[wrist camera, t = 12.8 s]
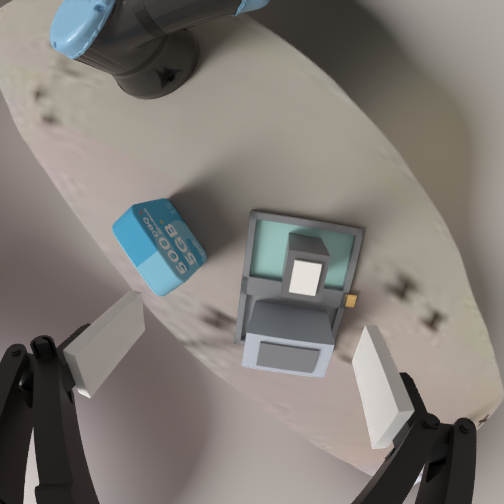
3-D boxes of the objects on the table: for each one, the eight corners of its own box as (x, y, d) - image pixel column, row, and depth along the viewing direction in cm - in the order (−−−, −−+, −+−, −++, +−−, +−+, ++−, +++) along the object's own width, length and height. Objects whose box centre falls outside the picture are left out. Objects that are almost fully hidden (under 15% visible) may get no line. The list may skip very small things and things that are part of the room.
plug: (288, 232, 41) (288, 250, 31) (321, 238, 41) (331, 257, 31) (282, 270, 43) (280, 298, 33) (313, 275, 42) (320, 304, 32)
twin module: (255, 300, 45) (246, 334, 35) (326, 311, 44) (335, 346, 34) (250, 330, 46) (241, 367, 36) (318, 341, 45) (323, 379, 35)
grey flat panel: (251, 210, 41) (250, 211, 40) (370, 230, 39) (372, 232, 38) (235, 339, 48) (234, 343, 46) (335, 353, 46) (336, 358, 44)
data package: (209, 257, 44) (183, 284, 33) (189, 271, 45) (159, 301, 34) (167, 196, 42) (128, 205, 31) (149, 212, 43) (107, 225, 32)
